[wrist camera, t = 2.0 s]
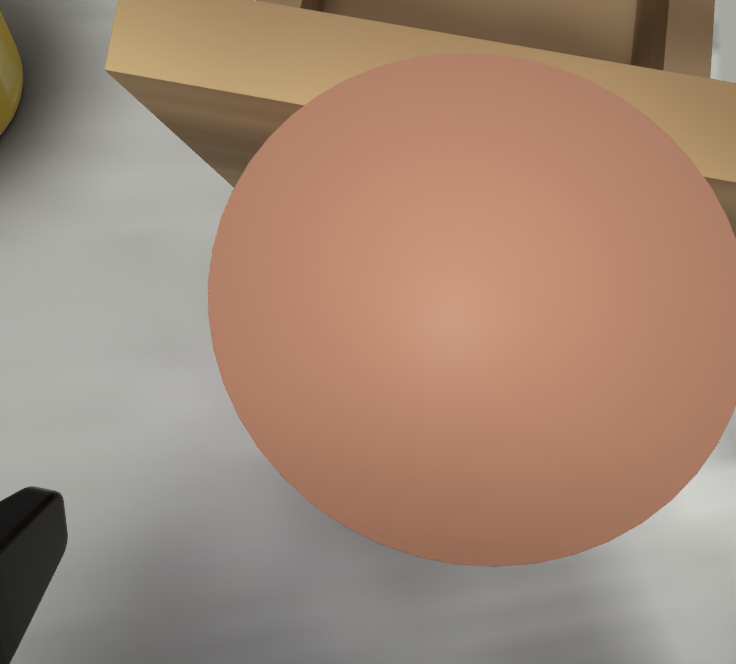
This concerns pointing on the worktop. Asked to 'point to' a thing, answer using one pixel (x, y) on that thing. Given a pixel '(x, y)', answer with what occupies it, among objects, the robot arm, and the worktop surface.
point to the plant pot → (9, 76)
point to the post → (477, 309)
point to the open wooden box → (559, 26)
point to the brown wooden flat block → (345, 60)
